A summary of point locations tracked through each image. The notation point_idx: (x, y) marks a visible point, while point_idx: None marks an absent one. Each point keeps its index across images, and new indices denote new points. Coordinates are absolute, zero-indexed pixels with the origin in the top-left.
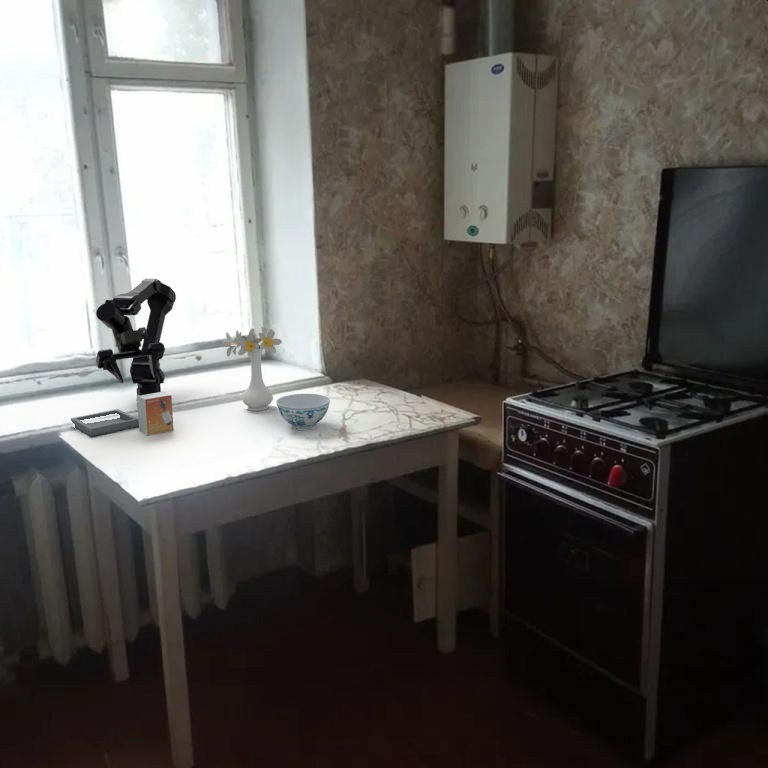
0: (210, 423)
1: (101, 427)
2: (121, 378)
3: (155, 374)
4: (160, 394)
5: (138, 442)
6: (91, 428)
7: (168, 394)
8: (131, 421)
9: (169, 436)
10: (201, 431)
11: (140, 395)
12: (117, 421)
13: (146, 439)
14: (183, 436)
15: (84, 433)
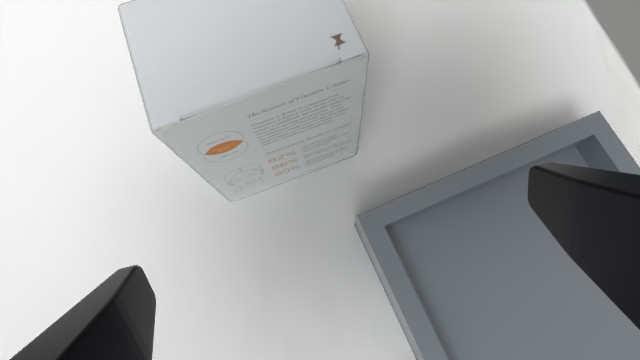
0: (23, 182)
1: (547, 134)
2: (571, 168)
3: (111, 278)
4: (188, 27)
5: (361, 15)
6: (596, 119)
7: (132, 17)
8: (397, 199)
9: None
10: (96, 78)
11: (340, 52)
12: (477, 330)
13: None
14: None
15: None
